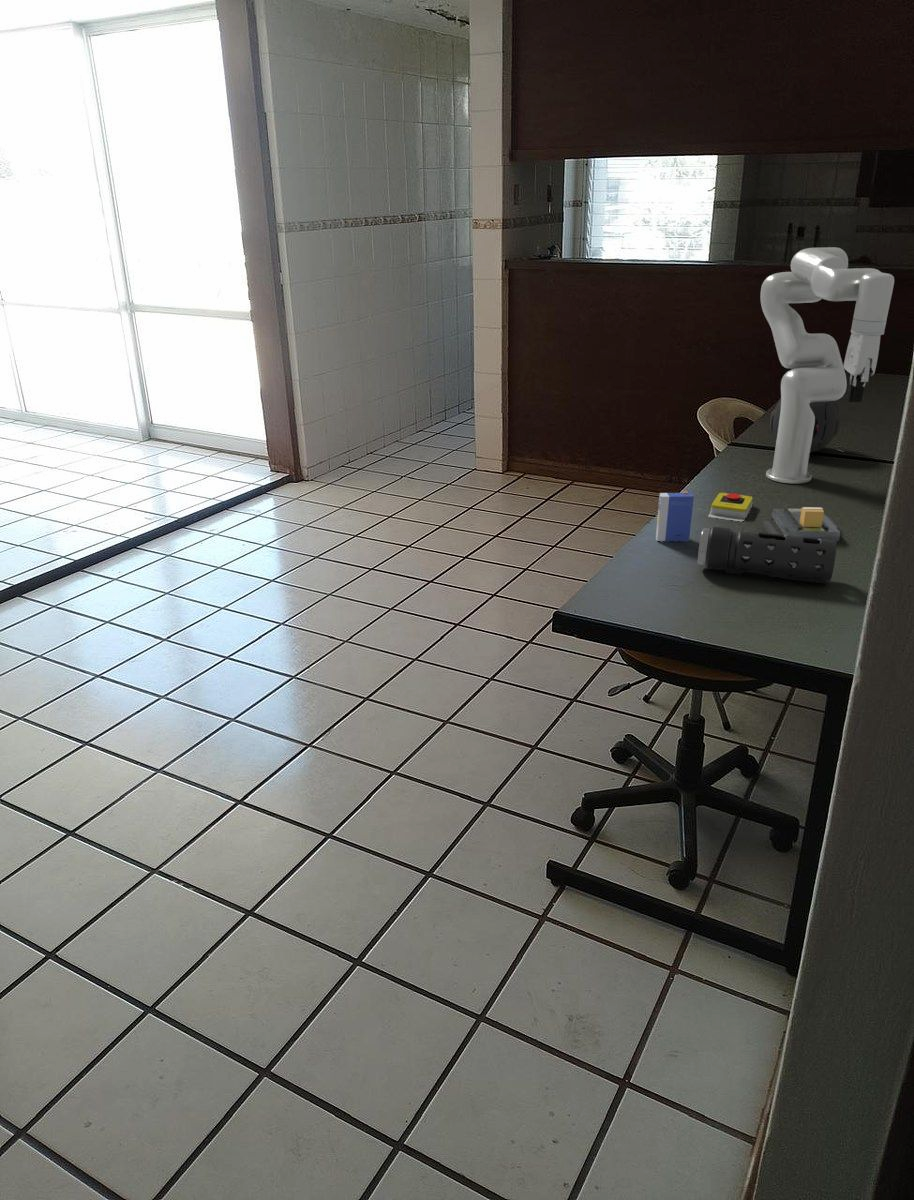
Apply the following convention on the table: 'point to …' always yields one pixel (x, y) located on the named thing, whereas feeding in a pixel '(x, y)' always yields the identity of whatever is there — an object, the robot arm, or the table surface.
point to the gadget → (821, 429)
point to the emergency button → (731, 507)
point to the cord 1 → (769, 527)
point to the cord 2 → (832, 522)
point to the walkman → (674, 517)
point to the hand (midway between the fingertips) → (853, 401)
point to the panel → (792, 527)
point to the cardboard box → (811, 516)
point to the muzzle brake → (767, 554)
